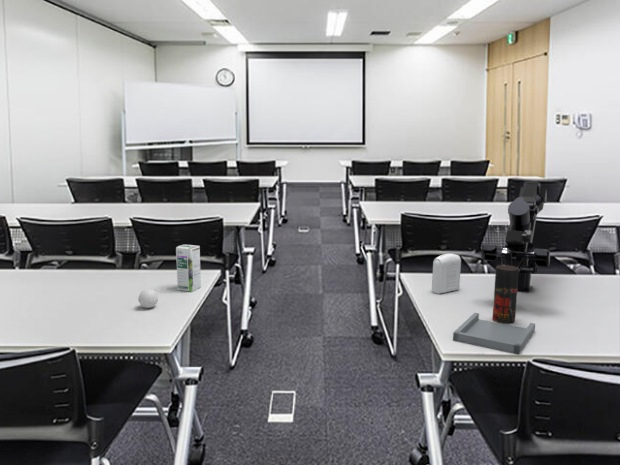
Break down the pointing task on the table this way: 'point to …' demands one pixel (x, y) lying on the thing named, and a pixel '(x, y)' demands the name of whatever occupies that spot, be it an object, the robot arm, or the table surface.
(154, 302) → the white bumpy ovoid
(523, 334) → the tray
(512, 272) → the deodorant
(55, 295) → the table surface
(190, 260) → the syrup box
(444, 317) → the table surface
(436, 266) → the photo printer
